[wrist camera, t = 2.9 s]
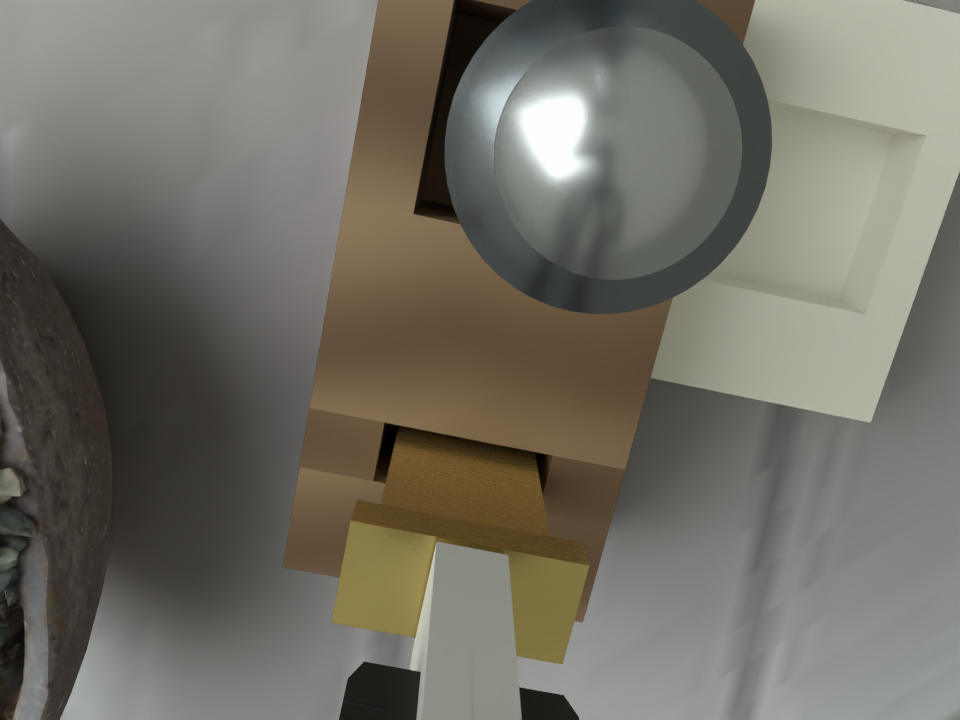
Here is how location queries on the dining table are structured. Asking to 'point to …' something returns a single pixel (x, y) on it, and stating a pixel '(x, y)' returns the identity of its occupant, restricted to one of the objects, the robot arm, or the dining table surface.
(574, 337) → the socket block
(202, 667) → the dining table surface
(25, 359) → the planter
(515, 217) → the grey metal cylinder
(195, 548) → the dining table surface
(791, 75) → the block
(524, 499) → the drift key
